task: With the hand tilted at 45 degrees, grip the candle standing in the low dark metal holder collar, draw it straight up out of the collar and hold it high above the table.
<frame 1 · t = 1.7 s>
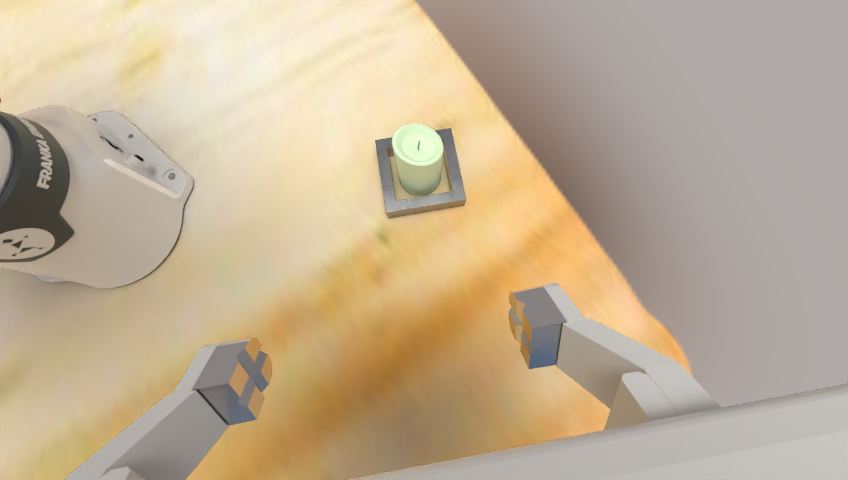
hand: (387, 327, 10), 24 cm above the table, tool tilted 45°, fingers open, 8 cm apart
candle: (420, 177, 38), resting in holder collar
holder collar: (419, 176, 37), on the table
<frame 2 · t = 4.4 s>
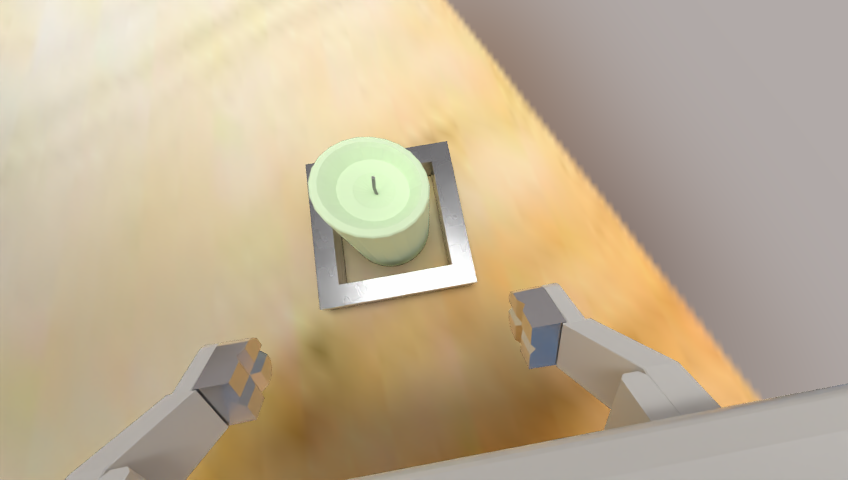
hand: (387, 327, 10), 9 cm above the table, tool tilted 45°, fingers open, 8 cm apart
candle: (391, 229, 21), resting in holder collar
holder collar: (391, 229, 21), on the table
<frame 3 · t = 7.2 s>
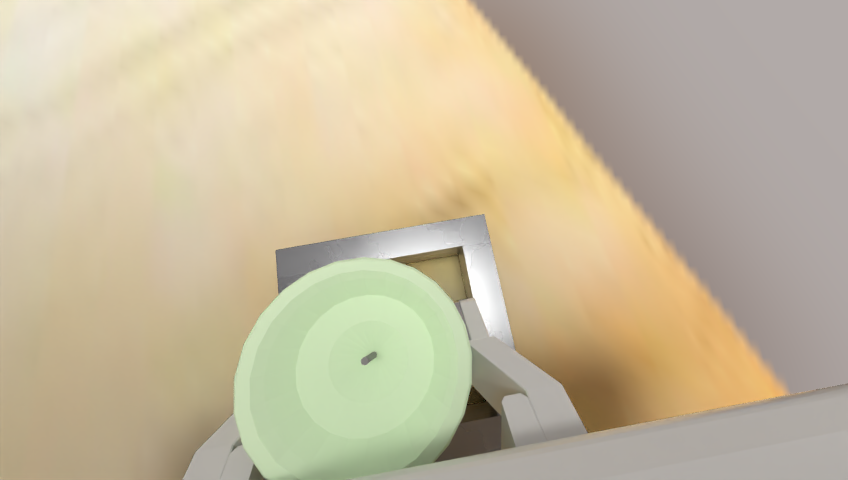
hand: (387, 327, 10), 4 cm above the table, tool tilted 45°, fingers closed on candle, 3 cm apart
candle: (401, 336, 14), resting in holder collar, touching gripper
holder collar: (401, 336, 14), on the table
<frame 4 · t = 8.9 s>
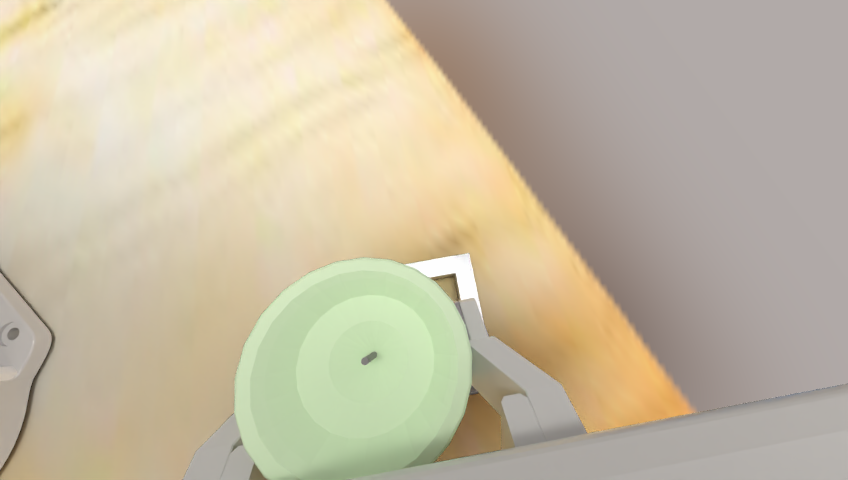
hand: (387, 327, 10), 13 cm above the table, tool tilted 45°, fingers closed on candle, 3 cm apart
candle: (401, 336, 14), point 9 cm above the table, touching gripper
holder collar: (418, 328, 23), on the table
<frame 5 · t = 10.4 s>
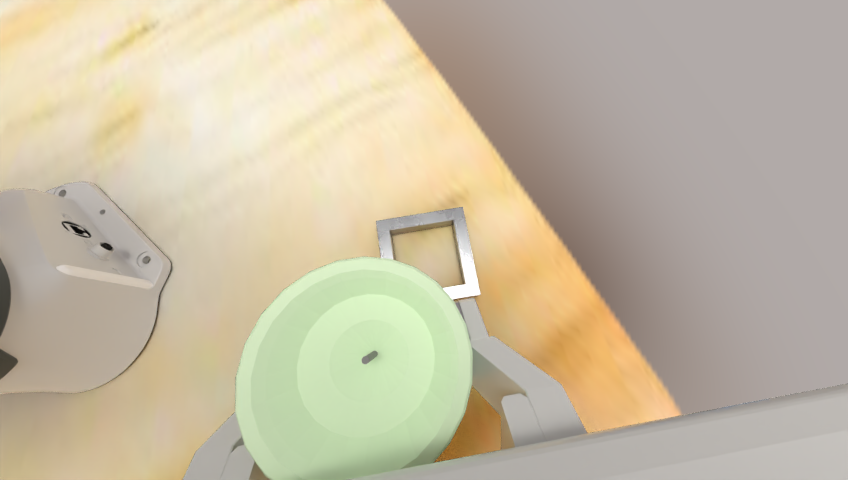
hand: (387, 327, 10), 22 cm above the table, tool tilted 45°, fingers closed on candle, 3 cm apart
candle: (402, 336, 14), point 17 cm above the table, touching gripper
holder collar: (426, 259, 33), on the table
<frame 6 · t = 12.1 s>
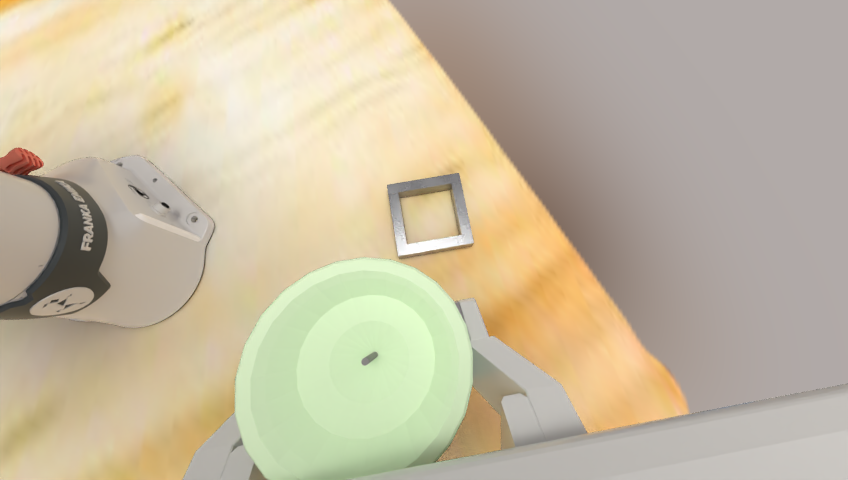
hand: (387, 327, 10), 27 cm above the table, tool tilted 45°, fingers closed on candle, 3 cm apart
candle: (403, 336, 14), point 23 cm above the table, touching gripper
holder collar: (429, 218, 39), on the table
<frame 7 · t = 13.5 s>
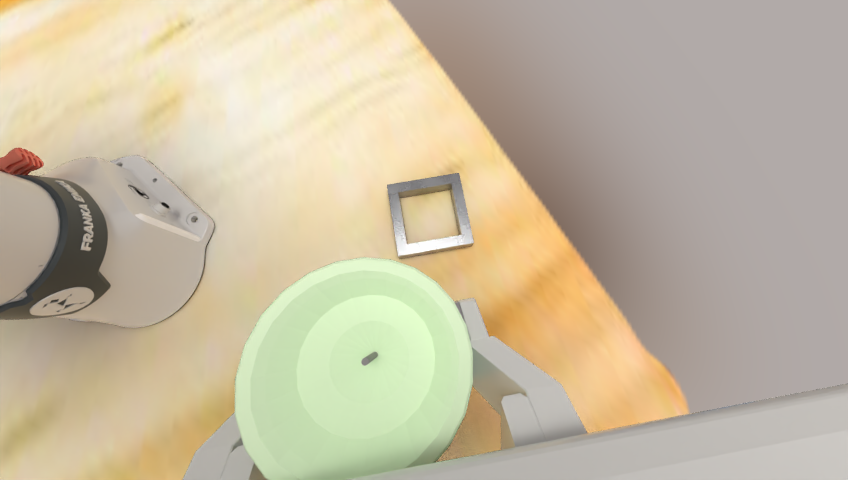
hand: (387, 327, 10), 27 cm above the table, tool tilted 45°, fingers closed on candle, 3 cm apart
candle: (403, 336, 14), point 23 cm above the table, touching gripper
holder collar: (429, 218, 39), on the table
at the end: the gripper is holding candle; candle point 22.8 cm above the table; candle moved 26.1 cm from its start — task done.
